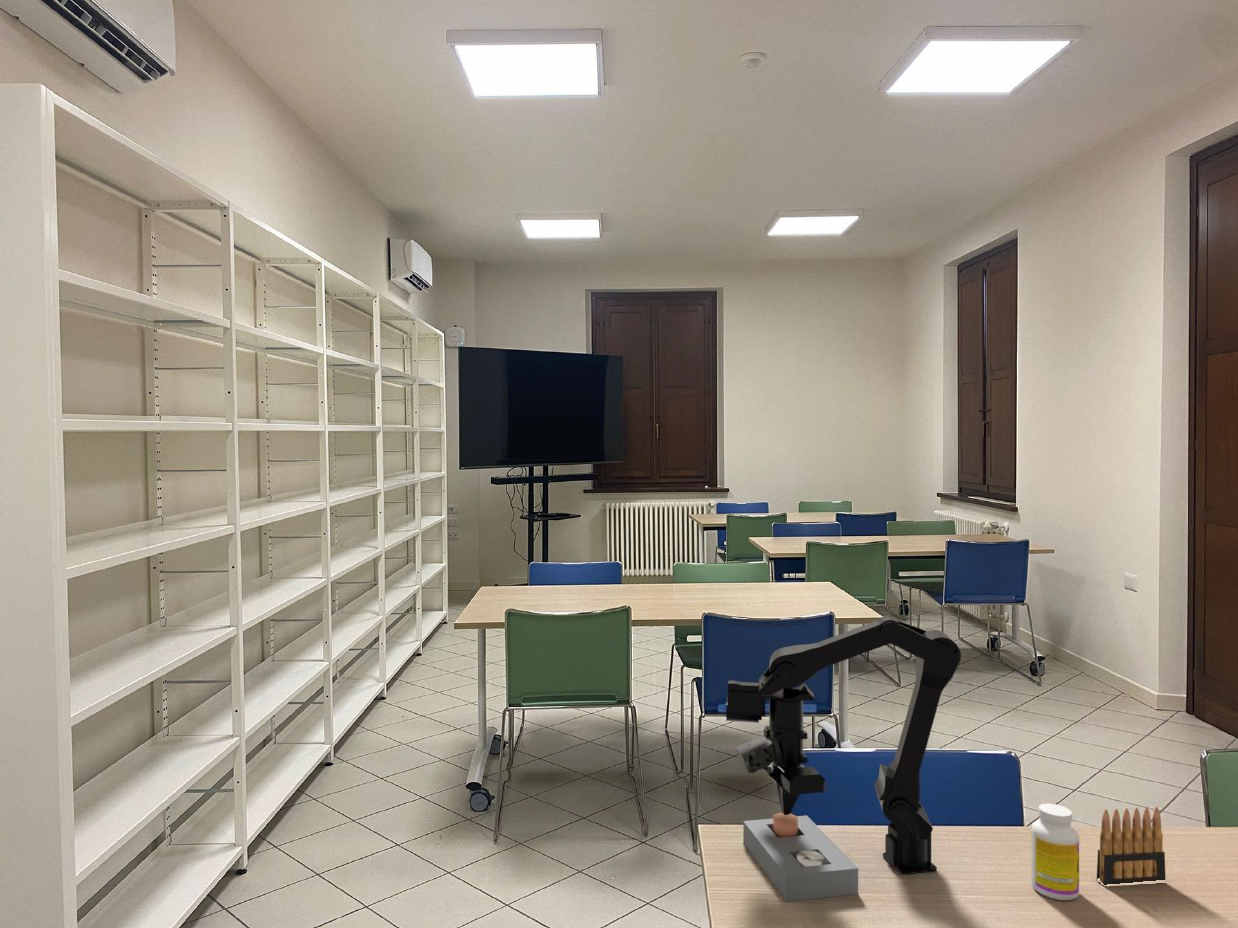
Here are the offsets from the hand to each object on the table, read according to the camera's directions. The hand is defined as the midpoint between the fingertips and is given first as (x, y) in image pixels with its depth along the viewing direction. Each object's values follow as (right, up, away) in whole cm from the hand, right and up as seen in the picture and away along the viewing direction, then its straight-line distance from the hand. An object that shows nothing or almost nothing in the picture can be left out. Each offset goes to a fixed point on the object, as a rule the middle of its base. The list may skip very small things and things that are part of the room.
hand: (785, 813), depth 138 cm
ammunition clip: (+54, -7, -9) cm, 55 cm away
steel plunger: (+2, -6, -10) cm, 11 cm away
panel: (+1, -7, -5) cm, 8 cm away
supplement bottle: (+40, -7, -12) cm, 42 cm away
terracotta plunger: (0, -4, 0) cm, 4 cm away
